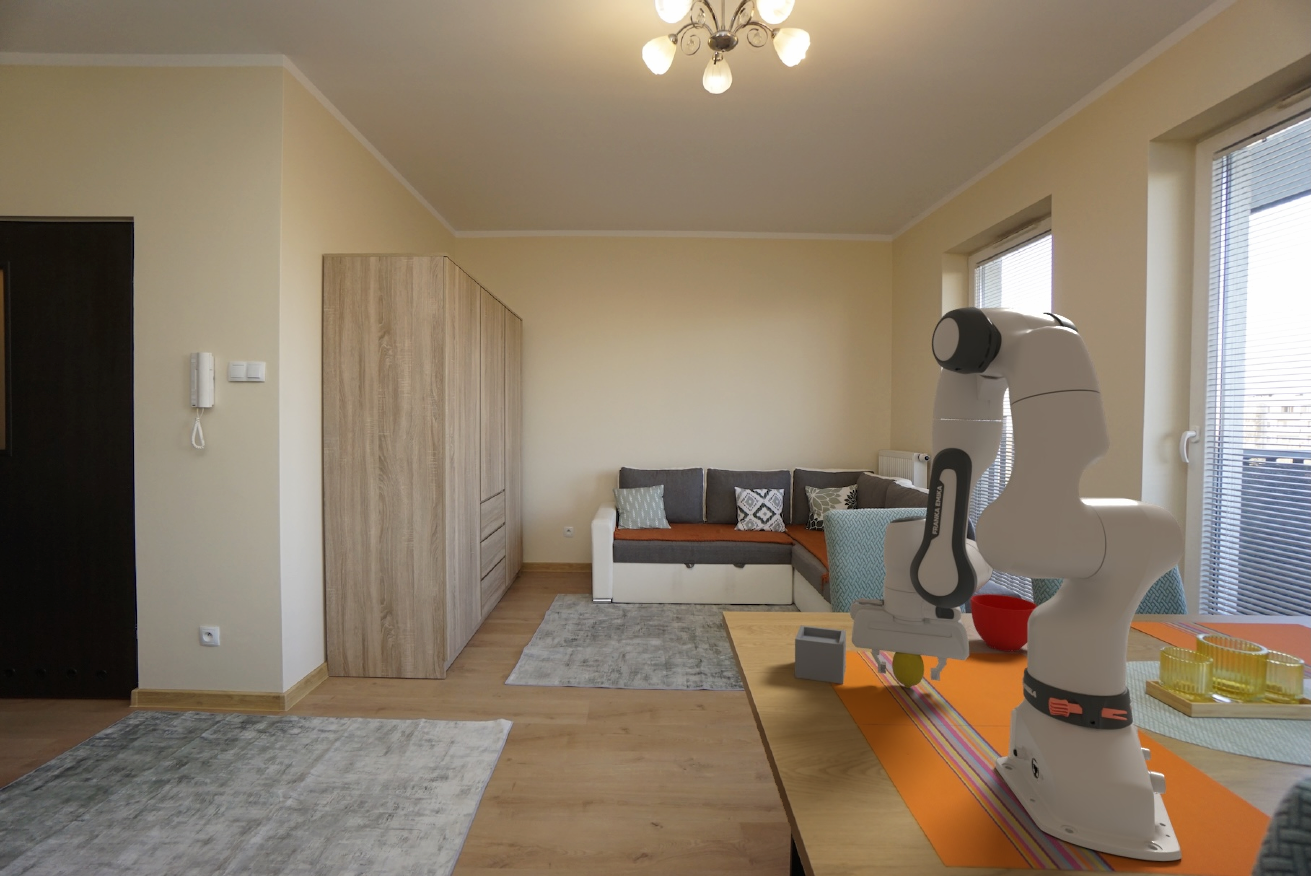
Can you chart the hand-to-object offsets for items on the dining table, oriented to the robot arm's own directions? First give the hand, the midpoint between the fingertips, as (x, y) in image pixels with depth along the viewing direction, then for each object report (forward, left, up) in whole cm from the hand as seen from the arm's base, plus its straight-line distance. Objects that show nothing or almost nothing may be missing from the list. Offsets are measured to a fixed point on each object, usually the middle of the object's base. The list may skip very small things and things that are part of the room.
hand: (908, 675), depth 112 cm
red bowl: (+32, -23, -2) cm, 39 cm away
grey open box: (+2, +16, -2) cm, 16 cm away
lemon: (0, 0, -2) cm, 2 cm away
